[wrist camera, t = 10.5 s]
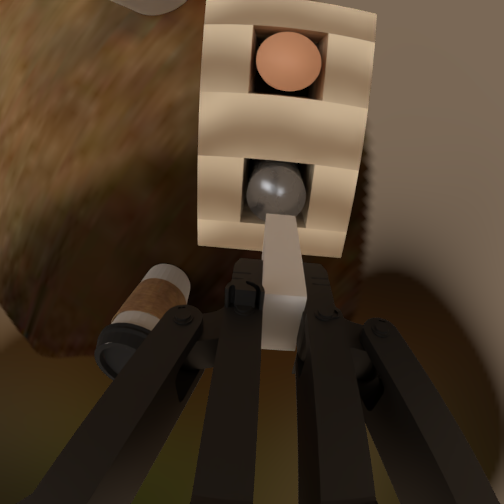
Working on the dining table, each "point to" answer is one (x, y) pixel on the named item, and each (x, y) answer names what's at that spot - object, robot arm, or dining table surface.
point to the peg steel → (275, 188)
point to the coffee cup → (140, 316)
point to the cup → (151, 5)
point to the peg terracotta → (288, 61)
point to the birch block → (281, 119)
